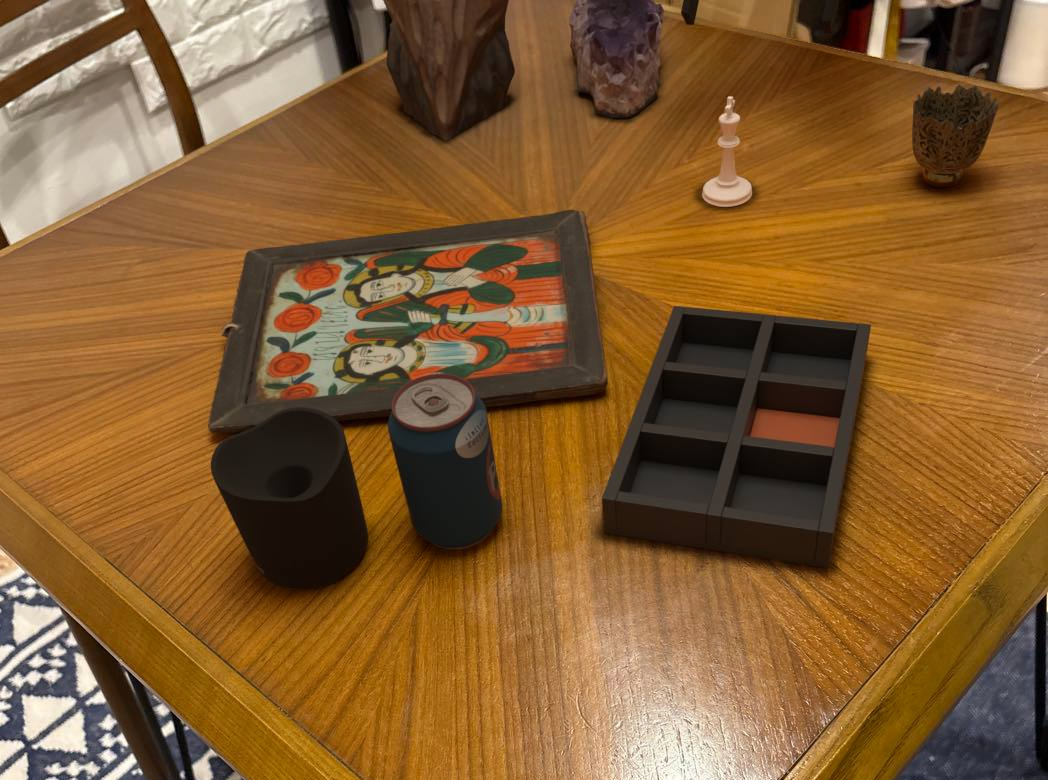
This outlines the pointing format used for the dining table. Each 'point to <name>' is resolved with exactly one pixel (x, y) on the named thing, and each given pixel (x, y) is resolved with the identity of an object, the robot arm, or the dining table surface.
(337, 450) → the pen holder
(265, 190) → the dining table surface
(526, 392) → the painting
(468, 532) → the soda can
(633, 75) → the geode
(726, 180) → the chess piece
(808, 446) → the grid
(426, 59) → the owl
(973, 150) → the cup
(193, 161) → the dining table surface
